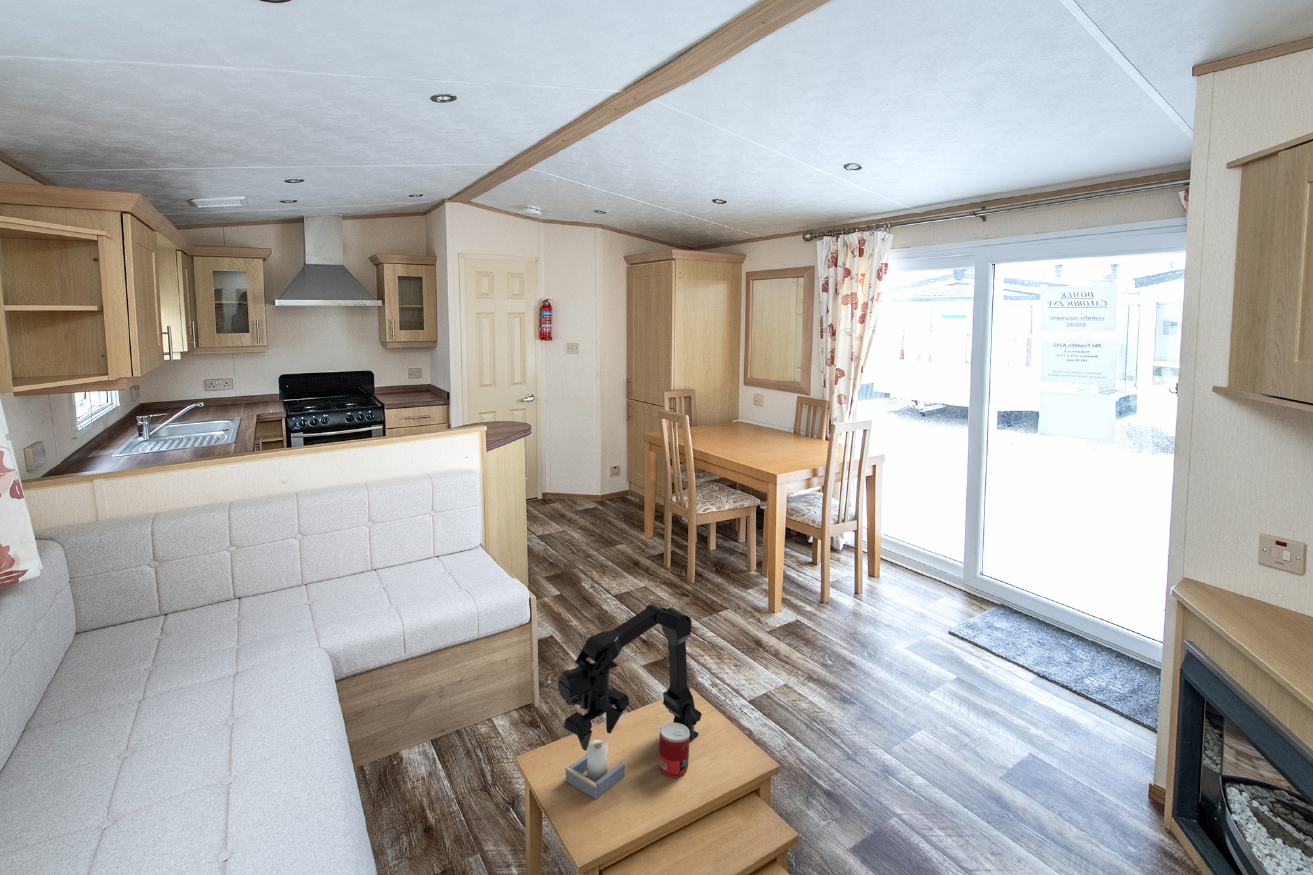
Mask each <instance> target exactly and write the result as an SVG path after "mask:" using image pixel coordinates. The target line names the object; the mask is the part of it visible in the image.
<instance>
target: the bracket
mask: <svg viewBox="0 0 1313 875" xmlns="http://www.w3.org/2000/svg"><path fill="white" fill-rule="evenodd" d="M587 755H588V752H587V753H586V754H584V755H583V756H581V758H579V759H578V760H576V761H575V762H573V763H572V764H570V765H569V766H567V765H566V766H565V767H564V770H565V782H567V783H569V784H570V785H572V786H573V787H575V788H576V789H578V790H580V791H581V792H583V793H584V794H586V795H588V796H589V797H590V798H592V799H594V800H597V799H598V798H599V797H600V796H602V795H603V794H604V793H605V792H607V791H608V790H609V789H610V788H611V787H613V786H614V785H615V784H617V783H618V782H620V781H621V780H622V779H623V778H624V777H625V773H626V770H625V769H626V768H625V767H626V764H625V763H624V762H623V761H622V762H619V763H618V764H617V765H616V766H615V767H613V768H612V769H611V770H609V771H607V774H605V775H604V776H603V777H602V778H600V779H599V780H598V781H596V782H594V781H592V780H591V779H589V778H587V775H586V776H585V775H584V774H583V773H585V772H587Z"/></svg>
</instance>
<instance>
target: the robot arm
mask: <svg viewBox="0 0 1313 875" xmlns="http://www.w3.org/2000/svg"><path fill="white" fill-rule="evenodd" d="M656 625H660V626H661V630H662V633H663V634H664V636H665V638H666V640H667V647H668V648H667V649H668V669H669V670H668V671H669V674H668V675H669V687H668V688H667V690H666V691H664V692H662V697H663V702H662V705H663V706H665V709H667V710H668V713H670V714H671V715H673V716H674V717H673V719H672V720H673V722H672V723H679V724H682V725H684V726H686V727H687V728H688V729H689V732H690V742H689V744H690V743H691V742H692V741H693V740H694V739H695V738H697V737H698V736H699V732H697V731H696V730H695V726H696V725H697V723H698V722H700V721H701V718H702V716H703V714H702V712H701V711H699V710H698V709H697V708H696V707H695V705H696V704H695V701H694V700H695V699H694V695H693V694H692V692H691V690H690V688H689V685H688V667H687V666H688V664H687V640H688V638H689V637H690V635H691V634H692V633H691V630H692V619H691V617H690V616H689V615H688V614H686V613H683V612H682V611H680V610H678V609H676V608H675V607H668V608H666V607H665V608H664V607H662V606H658V605H656V604H648V605H647V606H646V607H645V609H643V610H642V611H640V612H639V613H638V614H636V615H634V616H632V617H631V618H630V619H628V620H626V621H625V622H624V623H621V624H620V625H618V626H617V627H615V628H613V629H612V630H609V631H608V630H607V631H600V632H598V633H596V634H593V635H591V636H590V637H589V638H587V639H586V641H585V643H584V646H582V647H583V648H582V649H581V651H580V652H579V655H578V656H577V657H576V660H575V661H574V663H575V665H577V667H574V668H571V669H567V670H564V671H563V672H562V675H560V676H559V679H558V680H557V688H558V693H559V695H560V696H561V698H562V699H563V700H565V702H566V704H567V705H568V706H575V705H576V706H580V708H581V709H582V710H586V713H585V714H582V713H580V712H578V711H575V712H574V713H572V714H571V715H569V716H568V717H566V718H565V719H564V720H563V722H564V723H563V724H564V729H565V730H567V731H568V732H569V733H570V732H571V733H572V734H574V735H576V736H577V738H578V741H579V743H580V746H581V748H582V750H583V751H588V745H589V743H590V742H591V741H590V740H591V737H592V733H593V730H592V728H593V723H592V722H593V721H594V720H595V719H598V718H599V717H601V716H602V715H604V714H605V716H606V717H605V724H606V726H605V727H606V732H607V734H609V735H610V734H612V732H613V730H614V728H615V726H616V724H617V722H618V721H619V719H620V718H621V716H622V715H623V713H624V711H626V708H627V707H628V706H630V697H629V696H628V694H626V692H622V691H621V690H618V689H616V688H610V679H611V677H610V676H611V669H615V668H617V667H618V663H616V662H615V661H614V660H615V659H616V658H617V657H618V656H619V655H620V652H621V650H622V649H623V648H625V646H626V645H628V644H629V643H631V642H633V641H634V640H636V639H637V638H639V637H640V636H641V635H643V634H644V633H646V632H647V631H649V630H651V629H652V628H653V627H655V626H656ZM588 659H590V660H591V661H593V662H592V663H591V662H589V661H588Z"/></svg>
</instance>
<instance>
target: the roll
mask: <svg viewBox="0 0 1313 875" xmlns="http://www.w3.org/2000/svg"><path fill="white" fill-rule="evenodd" d="M608 747H609V744H608V743H607V742H606V741H604V740H602V739H601V740H600V739H595V740H592V741H589V745H588V748H587V753H588V755H587V770H586V777H587V778H589V779H591V780H592V781H594V782H596V781H598V780H599V779H600V778H602V777H603V776H604V775H605V774H607V773H608V751H609V748H608Z"/></svg>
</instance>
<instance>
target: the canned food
mask: <svg viewBox="0 0 1313 875" xmlns="http://www.w3.org/2000/svg"><path fill="white" fill-rule="evenodd" d="M689 742H690V732H689V729H688V728H687V727H686V726H684V725H682V724H679V723H673V722H667V723H665V724H663V725H662V726H661V727H660V730H659V742H658V743H659V744H658V746H659V748H658V749H659V750H658V767H659V770H660V771H661V773H663V774H664V775H665V776H668V775H669V777H672V776H678V777H681V776H684V775H685V774H686V773H687V771H688V769H689V758H690V757H689V756H690V743H691V742H690V743H689ZM685 772H686V773H685ZM684 773H685V774H684ZM680 775H681V776H680Z"/></svg>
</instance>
